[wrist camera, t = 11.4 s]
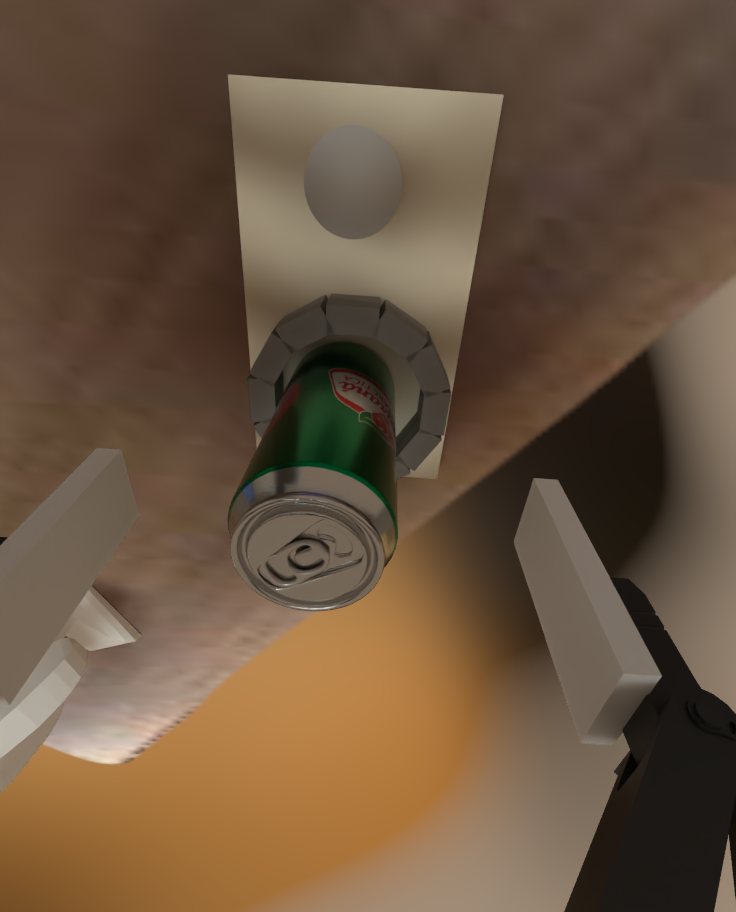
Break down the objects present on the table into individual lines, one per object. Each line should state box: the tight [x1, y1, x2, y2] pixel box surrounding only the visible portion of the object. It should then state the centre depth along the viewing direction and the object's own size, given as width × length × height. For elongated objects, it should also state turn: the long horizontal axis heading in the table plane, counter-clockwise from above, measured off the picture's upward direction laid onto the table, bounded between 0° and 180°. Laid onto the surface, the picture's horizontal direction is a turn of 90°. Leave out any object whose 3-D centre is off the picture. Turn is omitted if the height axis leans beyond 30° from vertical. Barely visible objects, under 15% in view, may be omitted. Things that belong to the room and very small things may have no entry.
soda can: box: [228, 342, 398, 611], centre depth 18 cm, size 5×5×12 cm
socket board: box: [228, 74, 504, 479], centre depth 20 cm, size 17×10×6 cm, turn 176°
